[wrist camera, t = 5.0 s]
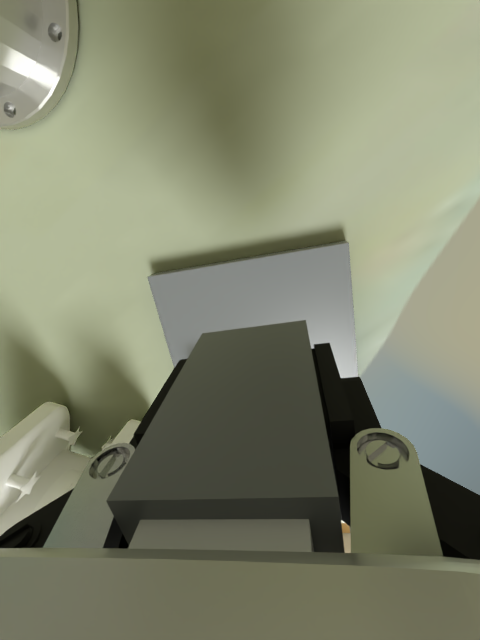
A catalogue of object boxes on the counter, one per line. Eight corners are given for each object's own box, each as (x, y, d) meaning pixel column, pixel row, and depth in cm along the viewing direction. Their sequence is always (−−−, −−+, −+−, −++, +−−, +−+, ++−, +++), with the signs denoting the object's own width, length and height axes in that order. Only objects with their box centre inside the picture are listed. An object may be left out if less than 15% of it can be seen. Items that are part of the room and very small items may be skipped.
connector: (202, 333, 12) (86, 535, 5) (305, 320, 11) (345, 537, 4) (223, 415, 13) (159, 662, 6) (316, 408, 12) (361, 681, 5)
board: (154, 273, 23) (122, 289, 19) (345, 240, 20) (360, 250, 16) (226, 523, 32) (215, 574, 27) (367, 527, 29) (380, 585, 24)
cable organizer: (57, 381, 29) (-84, 487, 18) (162, 412, 28) (80, 542, 17) (60, 489, 34) (-46, 618, 24) (147, 517, 34) (78, 663, 23)
